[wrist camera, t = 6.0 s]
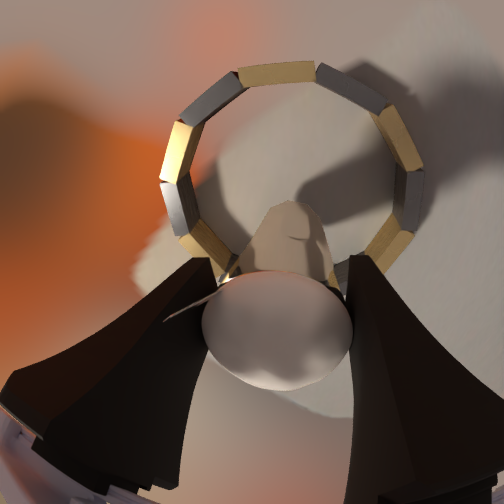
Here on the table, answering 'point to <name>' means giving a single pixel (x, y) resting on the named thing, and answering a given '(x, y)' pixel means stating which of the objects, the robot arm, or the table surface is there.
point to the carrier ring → (235, 83)
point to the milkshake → (279, 305)
